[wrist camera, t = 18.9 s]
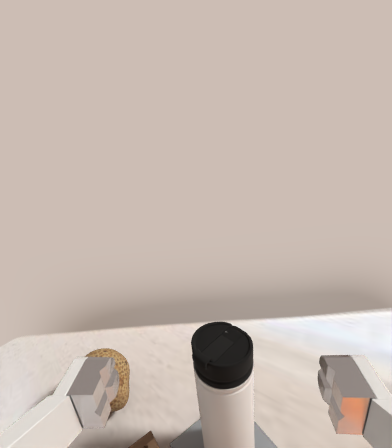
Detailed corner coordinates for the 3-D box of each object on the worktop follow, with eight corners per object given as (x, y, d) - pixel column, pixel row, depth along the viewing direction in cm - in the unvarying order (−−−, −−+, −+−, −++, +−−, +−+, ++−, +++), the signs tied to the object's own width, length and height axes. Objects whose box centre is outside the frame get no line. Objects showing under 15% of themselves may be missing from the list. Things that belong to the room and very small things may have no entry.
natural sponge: (92, 377, 46) (77, 335, 43) (140, 374, 46) (130, 331, 42) (69, 434, 38) (48, 387, 34) (128, 430, 37) (114, 383, 34)
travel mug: (193, 460, 33) (174, 342, 25) (225, 418, 37) (217, 307, 30) (233, 506, 28) (224, 380, 21) (264, 453, 33) (265, 333, 25)
